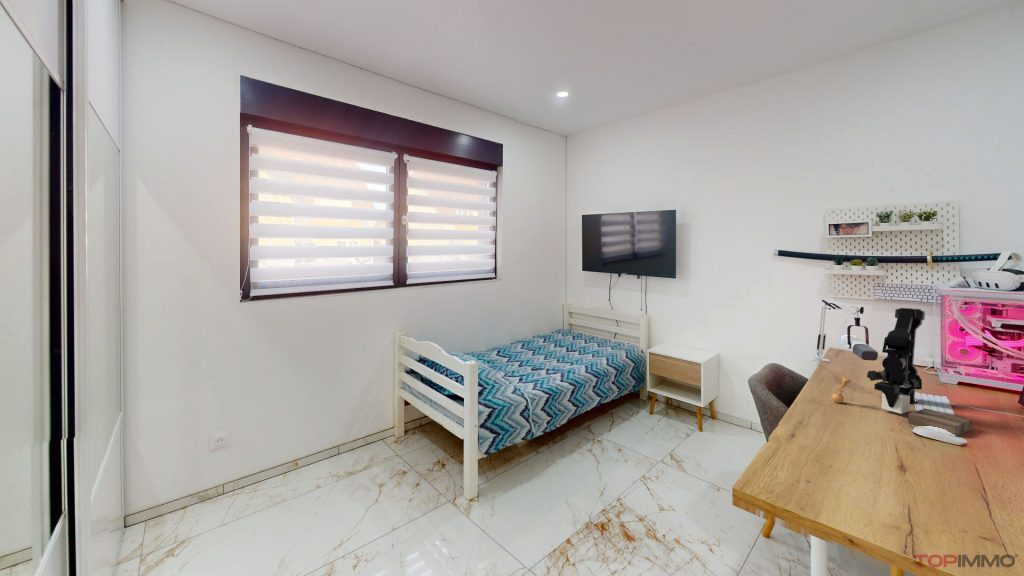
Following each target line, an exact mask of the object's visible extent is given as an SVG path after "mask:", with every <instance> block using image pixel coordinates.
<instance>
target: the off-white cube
mask: <svg viewBox="0 0 1024 576" xmlns="http://www.w3.org/2000/svg"><path fill="white" fill-rule="evenodd" d="M881 409H883V410H886V411H890V412H893V413H897V414H900V415H902V414H904V413H907V412H910V396H908V395H903V394H900V396H899V398H898V400H897V402H896V403H895V405H894V407H893V408H892V407H889V405H888V402H887V399H886V397H885V394H884V393H883V392H882V394H881Z"/></svg>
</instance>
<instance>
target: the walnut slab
mask: <svg viewBox="0 0 1024 576" xmlns="http://www.w3.org/2000/svg"><path fill="white" fill-rule="evenodd" d="M907 418H908V420H907V423H908V424H910V425H913V426H916V427H919V426H933V427H938V428H942V429H945V430H947V431H948V432H950V433H952V434H954V435H957V436H959V435H962V434H964V433H966V432H969V431H971V429H972V419H969V418H965V417H960V416H956V415H953V414H949V413H945V412H942V411H941V412H940V411H938V410H937V411H936V410H933V409H929V408H922V409H919V410H915V411H913V412H911V413H908V417H907Z"/></svg>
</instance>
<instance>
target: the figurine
mask: <svg viewBox="0 0 1024 576" xmlns="http://www.w3.org/2000/svg"><path fill="white" fill-rule="evenodd" d="M841 379H842V381H841V384H839V386H838V387H837V390H838V391H839V392H837V393H833V394H831V400H832V401H833V402H834V403H836V404H837V403H838V404H840V403H843V402H844V400H845V399H844V396H843V394H842V393H844V390H843V389H844V388H846V387H847V385H849V384H850V383H851V379H850V378H848V377H847V376H845V375H843V376H841Z"/></svg>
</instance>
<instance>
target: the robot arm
mask: <svg viewBox="0 0 1024 576" xmlns="http://www.w3.org/2000/svg"><path fill="white" fill-rule="evenodd" d="M894 310H895V313H894V318H895V319H896V322H895V324H894V329H892V330H890V331H889V332H888V334H887V336H885V337H884V340H883V346H882V353H884V354H887V355H886V357H885V358H884V359H882V361H881V365H882V368H883V370H879V371H876V370H875V369H874V370H868V371H867V373H866V374H867V375H866V378H867V379H869V381H871V382H872V381H873V382H874V381H879V382H876V383H875V384H874V390H877V391H880V392H881V393H882V394H883V393H884V394H885V397H886V399H887V402H888V405H889V407H892V408H893V407H894V405H895V403H896V402H897V400H898V398H899V396H900V394H903V395H908V396H910V404H911V405H912V404H915V403H916V402H915V400H916V399H915V397H916V394H915V391H916V390H918V391H920V390H923V380H922V379H923V378H921V376H920V374H919V371H918V369H917V368H916V366H915V365H914V359H915V347H916V337H917V330H918V329H919V328H920V326H922V325H923V321H925V319H926V318H925V316H926V312H925V311H923V310H922V309H921V308H910V307H907V308H906V307H899V308H895V309H894Z"/></svg>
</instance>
